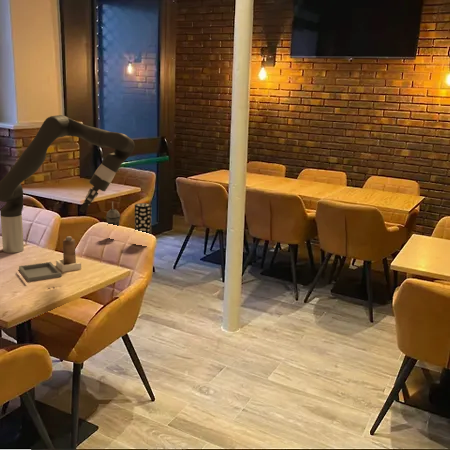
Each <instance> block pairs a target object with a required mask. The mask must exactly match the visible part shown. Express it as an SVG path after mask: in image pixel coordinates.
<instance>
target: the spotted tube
mask: <svg viewBox="0 0 450 450" xmlns="http://www.w3.org/2000/svg"><path fill="white" fill-rule="evenodd" d="M135 230H138V231H142V232H146V233H149V234H151V235H152V204H151V203H144V202H142V203H140V202H139V203H135V204H134V231H135Z"/></svg>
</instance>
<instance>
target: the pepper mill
mask: <svg viewBox="0 0 450 450" xmlns="http://www.w3.org/2000/svg"><path fill="white" fill-rule="evenodd" d="M62 252H63V253H62V255H63V256H62V257H63V258H62V259H64V265H67V264H74V263H77V262H76V261H77V258H76V254H77V253H76V239H75V238H73V237H72V236H70V235H69V236H66V237H65V238H64V239H63V240H62Z"/></svg>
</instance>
